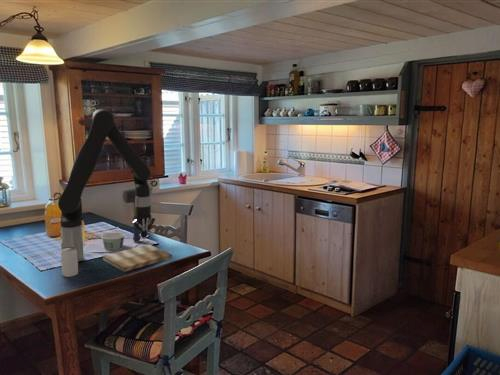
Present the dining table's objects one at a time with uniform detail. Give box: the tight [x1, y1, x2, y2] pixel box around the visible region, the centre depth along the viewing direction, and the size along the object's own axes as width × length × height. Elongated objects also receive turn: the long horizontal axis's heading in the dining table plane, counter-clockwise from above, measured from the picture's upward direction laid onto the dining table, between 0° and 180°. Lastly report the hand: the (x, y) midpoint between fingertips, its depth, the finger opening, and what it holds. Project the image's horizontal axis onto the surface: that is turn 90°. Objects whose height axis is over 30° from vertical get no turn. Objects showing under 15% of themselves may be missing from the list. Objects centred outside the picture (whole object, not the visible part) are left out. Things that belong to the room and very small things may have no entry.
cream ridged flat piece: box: [102, 244, 161, 266], centre depth 204 cm, size 26×10×2 cm, turn 136°
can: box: [60, 246, 79, 278], centre depth 179 cm, size 6×6×12 cm
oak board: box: [112, 248, 173, 273], centre depth 197 cm, size 26×10×2 cm, turn 136°
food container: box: [100, 231, 126, 251], centre depth 217 cm, size 12×12×6 cm
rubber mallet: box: [122, 188, 141, 243], centre depth 224 cm, size 12×8×30 cm, turn 129°
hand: (144, 237), depth 210 cm, fingers closed
